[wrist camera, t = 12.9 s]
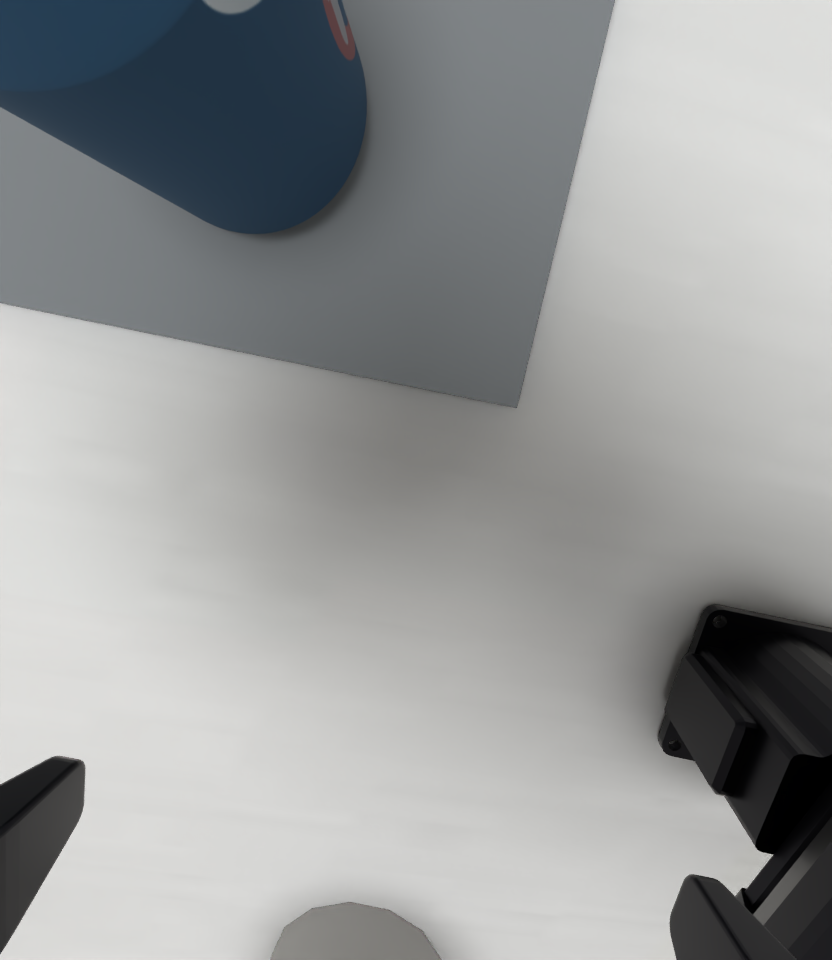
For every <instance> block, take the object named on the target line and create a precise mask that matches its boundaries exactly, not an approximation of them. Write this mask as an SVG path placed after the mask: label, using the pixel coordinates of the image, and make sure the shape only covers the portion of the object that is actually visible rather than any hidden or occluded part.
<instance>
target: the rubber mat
mask: <svg viewBox="0 0 832 960" xmlns="http://www.w3.org/2000/svg"><path fill="white" fill-rule="evenodd" d="M342 2H343V5H344V9H345V12H346V15H347V18H348V21H349V24H350V28H351V31H352V34H353V37H354V40H355V44H356V47H357V50H358V53H359V56H360V60H361V64H362V67H363V72H364V77H365V84H366V94H367V116H366V126H365V132H364V137H363V141H362V145H361V149H360V152H359V155H358V157H357V160H356V163H355V165H354V167H353V169H352V171H351V173H350V175H349V177H348V179H347V180H346V182H345V183H344V185H343V186H342V188H341V189H340V191H339V192H338V193H337V194H336V196H335V197H334V198H333V199H332V200H331V201H330V202H329V203H328V204H327V205H326V206H325V207H324V208H323V209H322V210H320V211H319V212H318V213H317V214H315V215H314V216H312V217H311V218H309V219H308V220H306V221H304V222H302V223H300V224H298V225H296V226H294V227H291V228H288V229H285V230H282V231H278V232H273V233H266V234H245V233H238V232H233V231H228V230H225V229H222V228H219V227H216V226H214V225H212V224H209V223H207V222H205V221H203V220H202V219H200V218H198V217H196V216H194V215H193V214H191V213H189V212H187V211H186V210H184V209H182V208H180V207H178V206H177V205H175V204H173V203H171V202H169V201H168V200H166V199H164V198H162V197H160V196H159V195H157V194H155V193H153V192H151V191H150V190H148V189H146V188H144V187H143V186H141V185H139V184H137V183H135V182H134V181H132V180H130V179H128V178H126V177H125V176H123V175H121V174H119V173H117V172H116V171H114V170H112V169H110V168H108V167H107V166H105V165H103V164H101V163H100V162H98V161H96V160H94V159H92V158H91V157H89V156H87V155H85V154H83V153H82V152H80V151H78V150H76V149H74V148H73V147H71V146H69V145H67V144H66V143H64V142H62V141H60V140H58V139H57V138H55V137H53V136H51V135H49V134H48V133H46V132H44V131H42V130H40V129H39V128H37V127H35V126H33V125H31V124H30V123H28V122H26V121H24V120H23V119H21V118H19V117H17V116H15V115H14V114H12V113H10V112H8V111H6V110H5V109H3V108H1V107H0V303H3V304H7V305H12V306H17V307H22V308H27V309H32V310H37V311H42V312H47V313H52V314H57V315H62V316H66V317H71V318H76V319H81V320H86V321H91V322H96V323H101V324H106V325H111V326H116V327H121V328H125V329H130V330H135V331H140V332H145V333H150V334H155V335H160V336H165V337H170V338H175V339H180V340H184V341H189V342H194V343H199V344H204V345H209V346H214V347H219V348H224V349H229V350H234V351H239V352H243V353H248V354H253V355H258V356H263V357H268V358H273V359H278V360H283V361H288V362H293V363H298V364H302V365H307V366H312V367H317V368H322V369H327V370H332V371H337V372H342V373H347V374H352V375H357V376H361V377H366V378H371V379H376V380H381V381H386V382H391V383H396V384H401V385H406V386H411V387H416V388H420V389H425V390H430V391H435V392H440V393H445V394H450V395H455V396H460V397H465V398H470V399H475V400H479V401H484V402H489V403H494V404H499V405H504V406H509V407H514V408H517V406H518V401H519V397H520V393H521V389H522V385H523V381H524V376H525V372H526V368H527V364H528V360H529V356H530V351H531V347H532V343H533V339H534V335H535V331H536V326H537V322H538V318H539V314H540V310H541V306H542V301H543V297H544V293H545V289H546V285H547V281H548V276H549V272H550V268H551V264H552V260H553V256H554V252H555V247H556V243H557V239H558V235H559V231H560V227H561V222H562V218H563V214H564V210H565V206H566V202H567V197H568V193H569V189H570V185H571V181H572V177H573V172H574V168H575V164H576V160H577V156H578V152H579V147H580V143H581V139H582V135H583V131H584V127H585V122H586V118H587V114H588V110H589V106H590V102H591V97H592V93H593V89H594V85H595V81H596V77H597V72H598V68H599V64H600V60H601V56H602V52H603V47H604V43H605V39H606V35H607V31H608V27H609V22H610V18H611V14H612V10H613V6H614V2H615V0H342Z"/></svg>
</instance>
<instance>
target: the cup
mask: <svg viewBox="0 0 832 960" xmlns="http://www.w3.org/2000/svg"><path fill="white" fill-rule="evenodd" d="M270 960H441V958H440V957H439V955H438V954H437V952H436V951H435V949H434V948H433V946H432V945H431V943H430V942H429V940H428V939H427V937H426V936H425V934H424V933H423V931H422V930H420V929H419V928H417V927H415V926H414V925H412V924H411V923H409V922H407V921H406V920H404V919H403V918H401V917H400V916H398V915H396V914H395V913H393V912H392V911H390V910H386V909H381V908H376V907H372V906H367V905H362V904H357V903H352V902H347V903H341V904H335V905H329V906H323V907H317V908H312V909H311V910H309V911H308V912H306V913H305V914H303V915H302V916H300V917H299V918H297V919H296V920H294V921H293V922H291V923H290V924H288V925H287V926H286V927H284V929H283V932H282V934H281V936H280V938H279V940H278V942H277V945H276V947H275V949H274V951H273V953H272V956H271V959H270Z"/></svg>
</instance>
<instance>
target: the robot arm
mask: <svg viewBox="0 0 832 960" xmlns="http://www.w3.org/2000/svg"><path fill="white" fill-rule="evenodd" d="M717 616H722V618H721V620H720V621H718V622H717V623H713V620H714V618H715V617H717ZM665 712H666V716H665V719H664V722H663V725H662V727H661V730H660V733H659V736H658V741H659V744H660V746H661V747H662V749H663V751H664V752H665V753H666V754H668V755H670V756H674V757H679V758H683V759H688V760H693V761H695V762H696V764H697V765H698V767H699V769H700V770H701V772H702V774H703V775H704V777H705V779H706V780H707V782H708V784H709V785H710V787H711V788H712V790H713V791H714V792H715V793H716V794H718V795H722V796H725V798H726V800H727V801H728V803H729V805H730V806H731V808H732V809H733V811H734V813H735V814H736V816H737V817H738V819H739V821H740V822H741V824H742V826H743V827H744V829H745V830H746V832H747V834H748V835H749V837H750V838H751V840H752V842H753V843H754V845H755V846H756V848H757V850H759V851H761V852H764V853H769V854H774V855H773V856H772V857H771V859H770V860H769V861H768V862H767V864H766V865H765V866H764V867H763V869H762V870H761V871H760V873H759V874H758V875H757V876H756V878H755V879H754V880H753V881H752V883H751V884H750V885H749V887H748V888H747V889H746V888H741V890H740V891H739V892H738V893H737V895H736V896H734V895H733V894H732V893H731V892H730V891H729V890H728V889H727V888H726V887H725V886H724V885H723V884H722V883H721V882H719V881H718V880H716V879H714V878H710V877H704V876H699V875H694V874H691V875H688V876H687V877H686V878H685V879H684V881H683V884H682V886H681V889H680V891H679V894H678V897H677V899H676V902H675V904H674V907H673V909H672V912H671V916H670V933H671V938H672V942H673V947H674V951H675V955H676V959H677V960H832V628H827V627H822V626H817V625H812V624H808V623H803V622H798V621H793V620H789V619H784V618H779V617H774V616H770V615H765V614H760V613H755V612H751V611H746V610H741V609H736V608H731V607H727V606H722V605H711V606H708V607H707V608H706V609H704V611H703V613H702V614H701V617H700V620H699V623H698V626H697V629H696V631H695V634H694V637H693V640H692V643H691V646H690V648H689V651H688V653H687V654H686V655H685V656H684V657H683V658H682V661H681V664H680V667H679V670H678V673H677V675H676V678H675V681H674V684H673V687H672V690H671V692H670V695H669V698H668V701H667V704H666V707H665ZM672 740H677V741H676V742H675V743H673V744H669V742H670V741H672ZM84 790H85V764H84V762H83V761H81V760H79V759H74V758H69V757H63V756H54V757H51V758H49V759H47V760H45V761H43V762H41V763H40V764H38V765H36V766H34V767H32V768H30V769H28V770H27V771H25V772H23V773H21V774H19V775H17V776H15V777H13V778H12V779H10V780H8V781H6V782H4V783H2V784H0V954H1V952H2V951H3V949H4V948H5V946H6V944H7V943H8V941H9V940H10V938H11V936H12V935H13V933H14V931H15V930H16V928H17V926H18V925H19V923H20V921H21V920H22V918H23V916H24V914H25V913H26V911H27V909H28V908H29V906H30V904H31V902H32V901H33V899H34V897H35V896H36V894H37V892H38V890H39V889H40V887H41V885H42V883H43V882H44V880H45V878H46V877H47V875H48V873H49V871H50V870H51V868H52V866H53V865H54V863H55V861H56V859H57V858H58V856H59V854H60V853H61V851H62V849H63V847H64V846H65V844H66V842H67V841H68V839H69V837H70V835H71V834H72V832H73V830H74V828H75V827H76V825H77V823H78V821H79V819H80V817H81V814H82V811H83V806H84Z"/></svg>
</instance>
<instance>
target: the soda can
mask: <svg viewBox="0 0 832 960" xmlns="http://www.w3.org/2000/svg"><path fill="white" fill-rule="evenodd" d="M0 107H1V108H3V109H5V110H6V111H8V112H10V113H12V114H14V115H15V116H17V117H19V118H21V119H23V120H24V121H26V122H28V123H30V124H31V125H33V126H35V127H37V128H39V129H40V130H42V131H44V132H46V133H48V134H49V135H51V136H53V137H55V138H57V139H58V140H60V141H62V142H64V143H66V144H67V145H69V146H71V147H73V148H74V149H76V150H78V151H80V152H82V153H83V154H85V155H87V156H89V157H91V158H92V159H94V160H96V161H98V162H100V163H101V164H103V165H105V166H107V167H108V168H110V169H112V170H114V171H116V172H117V173H119V174H121V175H123V176H125V177H126V178H128V179H130V180H132V181H134V182H135V183H137V184H139V185H141V186H143V187H144V188H146V189H148V190H150V191H151V192H153V193H155V194H157V195H159V196H160V197H162V198H164V199H166V200H168V201H169V202H171V203H173V204H175V205H177V206H178V207H180V208H182V209H184V210H186V211H187V212H189V213H191V214H193V215H194V216H196V217H198V218H200V219H202V220H203V221H205V222H207V223H209V224H212V225H214V226H216V227H219V228H222V229H225V230H228V231H233V232H238V233H245V234H266V233H273V232H278V231H282V230H285V229H288V228H291V227H294V226H296V225H298V224H300V223H302V222H304V221H306V220H308V219H309V218H311V217H312V216H314V215H315V214H317V213H318V212H319V211H320V210H322V209H323V208H324V207H325V206H326V205H327V204H328V203H329V202H330V201H331V200H332V199H333V198H334V197H335V196H336V194H337V193H338V192H339V191H340V189H341V188H342V186H343V185H344V183H345V182H346V180H347V179H348V177H349V175H350V173H351V171H352V169H353V167H354V165H355V163H356V160H357V157H358V155H359V152H360V149H361V145H362V141H363V137H364V132H365V126H366V116H367V94H366V84H365V77H364V72H363V67H362V64H361V60H360V56H359V53H358V50H357V47H356V44H355V40H354V37H353V34H352V31H351V28H350V24H349V21H348V18H347V15H346V12H345V9H344V5H343V2H342V0H0Z"/></svg>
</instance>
